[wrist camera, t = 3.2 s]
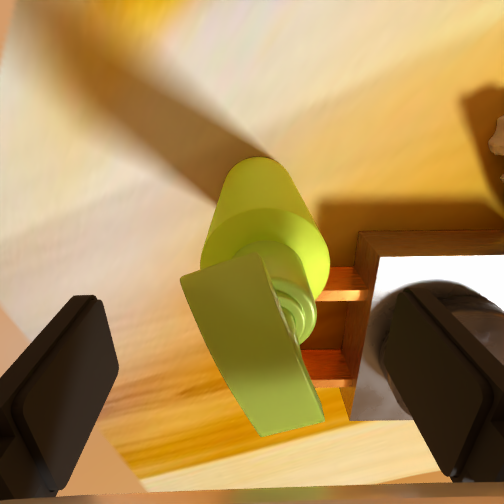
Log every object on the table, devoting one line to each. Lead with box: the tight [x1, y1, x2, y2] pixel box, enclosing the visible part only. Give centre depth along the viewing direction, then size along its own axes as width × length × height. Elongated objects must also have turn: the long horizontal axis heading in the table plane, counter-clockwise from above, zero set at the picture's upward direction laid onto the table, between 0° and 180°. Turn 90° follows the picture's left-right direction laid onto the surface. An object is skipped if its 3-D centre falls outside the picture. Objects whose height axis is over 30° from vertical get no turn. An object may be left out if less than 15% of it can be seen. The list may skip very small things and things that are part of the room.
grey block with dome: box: [301, 230, 504, 421], centre depth 28 cm, size 18×23×8 cm
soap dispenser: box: [180, 157, 330, 437], centre depth 17 cm, size 6×7×20 cm
